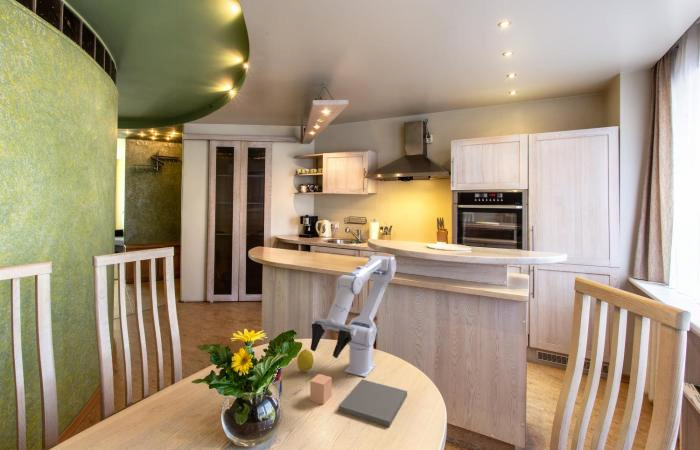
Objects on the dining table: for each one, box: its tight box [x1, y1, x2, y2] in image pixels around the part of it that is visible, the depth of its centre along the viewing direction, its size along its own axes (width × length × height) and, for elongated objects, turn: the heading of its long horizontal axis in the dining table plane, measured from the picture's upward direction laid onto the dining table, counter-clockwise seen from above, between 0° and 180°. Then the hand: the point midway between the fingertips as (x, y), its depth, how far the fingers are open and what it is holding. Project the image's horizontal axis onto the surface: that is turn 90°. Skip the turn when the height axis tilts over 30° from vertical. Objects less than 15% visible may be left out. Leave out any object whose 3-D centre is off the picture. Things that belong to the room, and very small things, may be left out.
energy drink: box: [272, 367, 283, 397], centre depth 99 cm, size 5×5×12 cm
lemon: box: [296, 349, 314, 373], centre depth 113 cm, size 6×6×8 cm
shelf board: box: [338, 379, 408, 428], centre depth 96 cm, size 16×15×2 cm
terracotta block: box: [309, 373, 333, 405], centre depth 98 cm, size 5×5×6 cm
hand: (323, 353), depth 96 cm, fingers open, 7 cm apart
